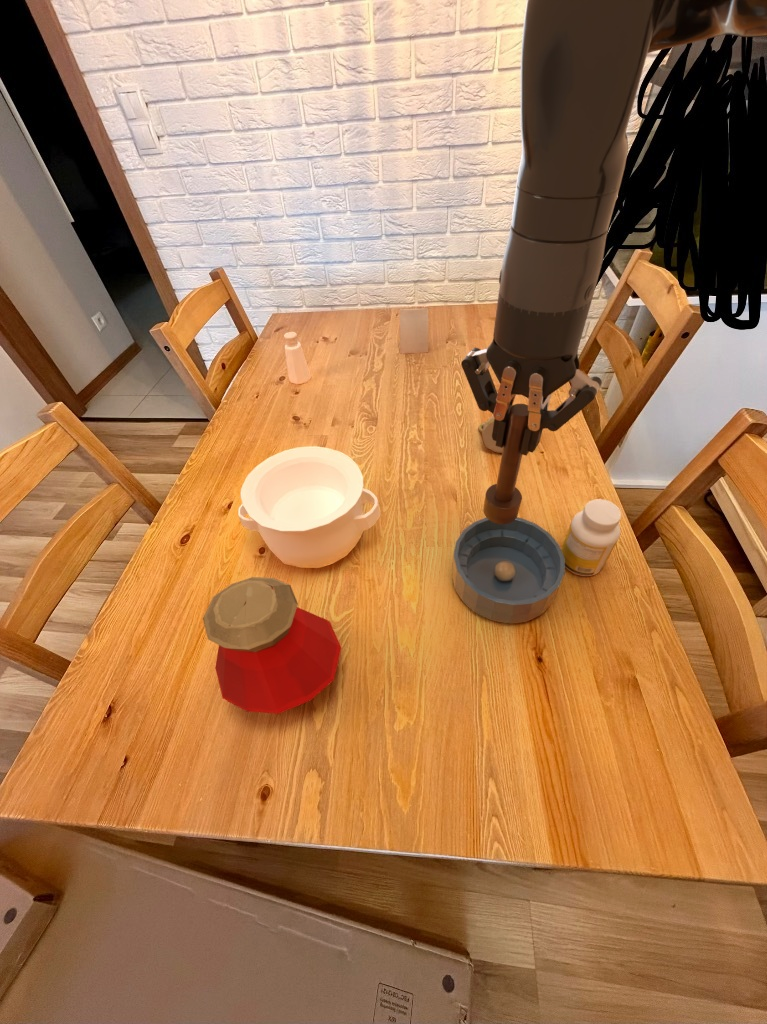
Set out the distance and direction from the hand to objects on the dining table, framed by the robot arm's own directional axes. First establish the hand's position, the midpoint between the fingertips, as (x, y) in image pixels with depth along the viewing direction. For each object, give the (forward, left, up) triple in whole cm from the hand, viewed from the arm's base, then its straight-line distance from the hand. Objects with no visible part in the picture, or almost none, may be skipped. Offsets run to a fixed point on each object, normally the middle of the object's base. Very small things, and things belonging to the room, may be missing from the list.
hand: (513, 446), depth 51 cm
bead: (-2, 0, -23) cm, 23 cm away
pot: (+28, +7, -26) cm, 38 cm away
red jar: (+17, +28, -26) cm, 42 cm away
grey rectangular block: (+42, -52, -26) cm, 71 cm away
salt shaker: (+60, -29, -26) cm, 71 cm away
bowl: (-2, 0, -26) cm, 26 cm away
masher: (0, 0, -11) cm, 11 cm away
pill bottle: (-11, -9, -26) cm, 30 cm away
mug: (+11, -30, -26) cm, 41 cm away
